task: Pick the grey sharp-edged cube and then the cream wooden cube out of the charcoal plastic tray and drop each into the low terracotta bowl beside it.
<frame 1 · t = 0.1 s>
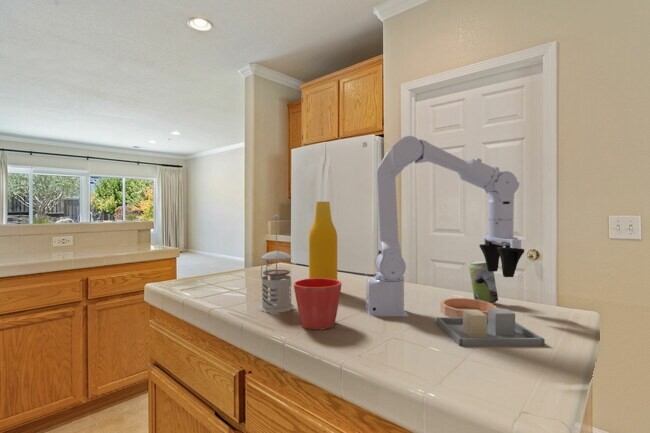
hand: (500, 274, 85), 10 cm above the countertop, tool pointing down, fingers open, 7 cm apart
beverage can: (483, 304, 94), on the countertop
beer bottle: (323, 292, 108), on the countertop
french press: (274, 307, 92), on the countertop
bowl: (467, 315, 83), on the countertop
grey sharp-edged cube: (501, 332, 70), point 1 cm above the countertop, touching tray
flower pot: (317, 325, 77), on the countertop
tray: (485, 335, 70), on the countertop
cream wooden cube: (474, 333, 69), point 1 cm above the countertop, touching tray
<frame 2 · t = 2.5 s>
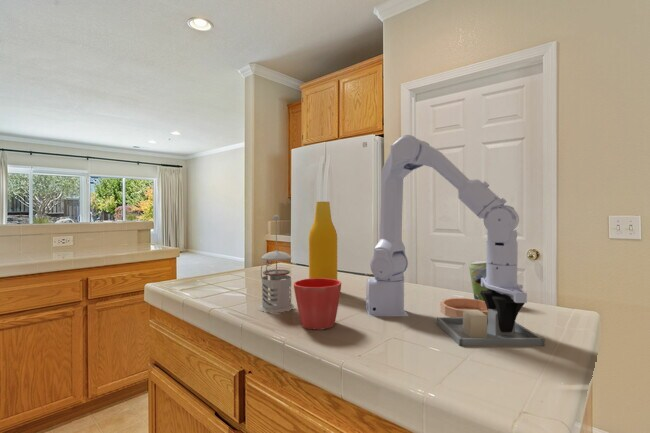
hand: (501, 328, 70), 1 cm above the countertop, tool pointing down, fingers closed on grey sharp-edged cube, 3 cm apart
grey sharp-edged cube: (501, 332, 70), point 1 cm above the countertop, touching gripper, tray
everything else where it was.
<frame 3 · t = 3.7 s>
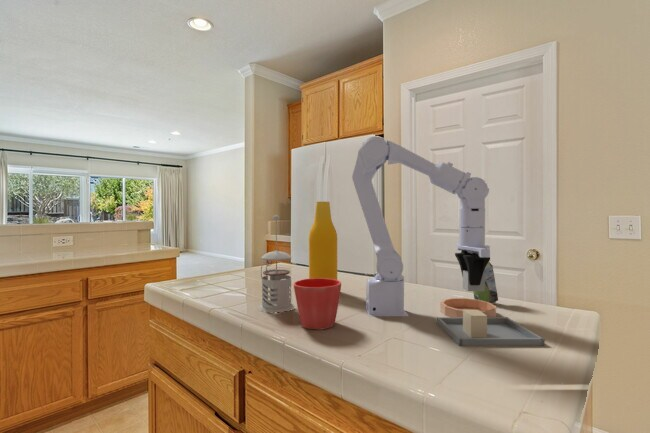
hand: (471, 283, 82), 8 cm above the countertop, tool pointing down, fingers closed on grey sharp-edged cube, 3 cm apart
grey sharp-edged cube: (473, 289, 82), point 7 cm above the countertop, touching gripper
everything else where it was.
when the fingers open (4 cm above the countertop, at t = 5.1 s): grey sharp-edged cube drops 1 cm, resting on bowl.
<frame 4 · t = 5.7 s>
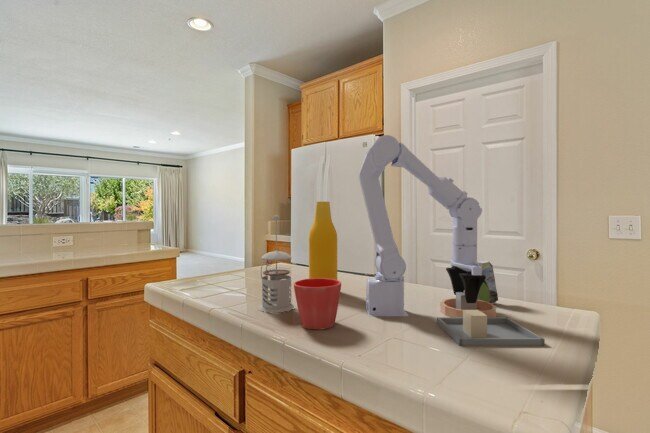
hand: (464, 298, 85), 4 cm above the countertop, tool pointing down, fingers open, 7 cm apart
grey sharp-edged cube: (466, 310, 85), point 1 cm above the countertop, touching bowl
everything else where it was.
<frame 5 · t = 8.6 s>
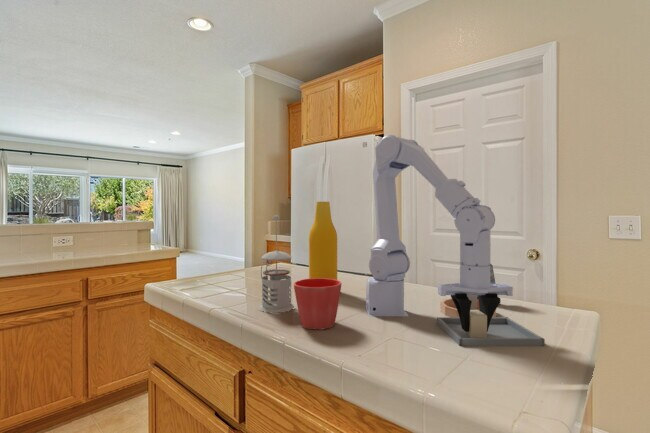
hand: (474, 330, 69), 1 cm above the countertop, tool pointing down, fingers closed on cream wooden cube, 3 cm apart
cream wooden cube: (474, 333, 69), point 1 cm above the countertop, touching gripper, tray
everything else where it was.
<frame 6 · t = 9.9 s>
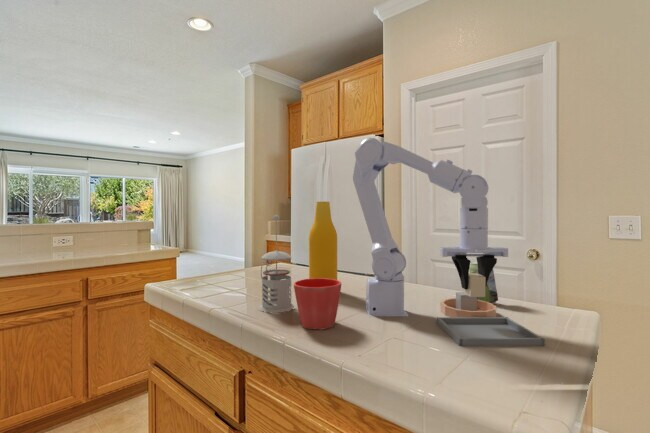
hand: (473, 288, 76), 8 cm above the countertop, tool pointing down, fingers closed on cream wooden cube, 3 cm apart
cream wooden cube: (474, 294, 76), point 7 cm above the countertop, touching gripper
everything else where it was.
when the fingers open (4 cm above the countertop, at t = 11.4 s): cream wooden cube drops 2 cm, resting on bowl.
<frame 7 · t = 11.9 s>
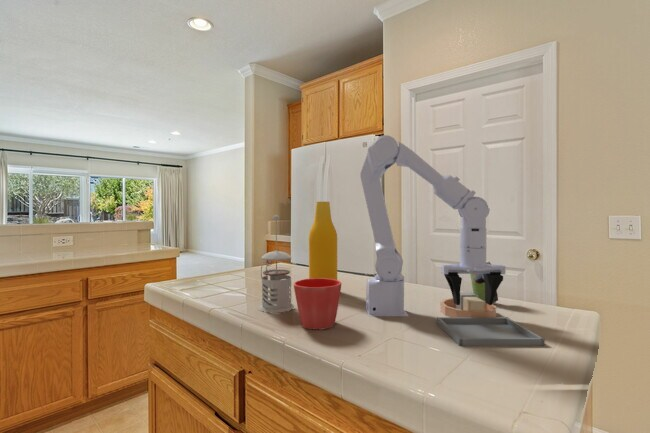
hand: (472, 303, 81), 4 cm above the countertop, tool pointing down, fingers open, 7 cm apart
cream wooden cube: (473, 317, 80), point 1 cm above the countertop, touching bowl
everything else where it was.
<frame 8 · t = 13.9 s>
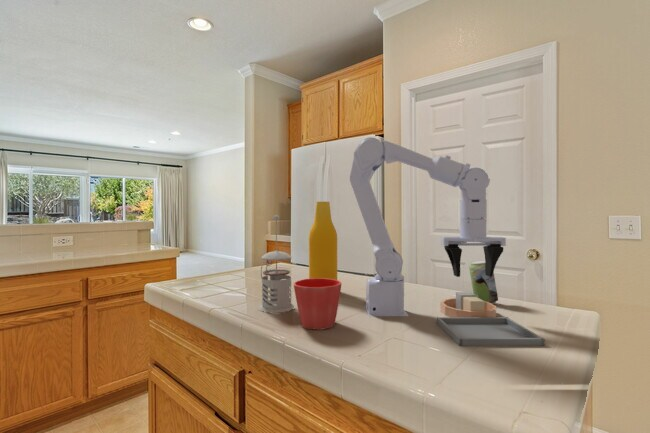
hand: (472, 276, 80), 10 cm above the countertop, tool pointing down, fingers open, 7 cm apart
nothing on the countertop moved.
at the end: grey sharp-edged cube inside the target area on the bowl (2.0 cm from its centre), point 0.6 cm above the bowl's base; cream wooden cube inside the target area on the bowl (3.3 cm from its centre), point 0.6 cm above the bowl's base; the gripper is holding nothing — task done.
